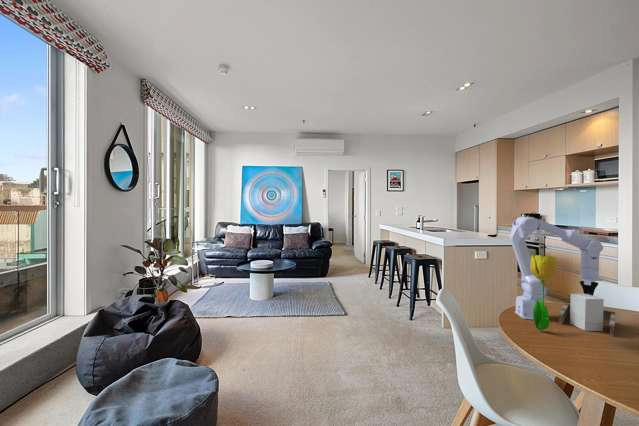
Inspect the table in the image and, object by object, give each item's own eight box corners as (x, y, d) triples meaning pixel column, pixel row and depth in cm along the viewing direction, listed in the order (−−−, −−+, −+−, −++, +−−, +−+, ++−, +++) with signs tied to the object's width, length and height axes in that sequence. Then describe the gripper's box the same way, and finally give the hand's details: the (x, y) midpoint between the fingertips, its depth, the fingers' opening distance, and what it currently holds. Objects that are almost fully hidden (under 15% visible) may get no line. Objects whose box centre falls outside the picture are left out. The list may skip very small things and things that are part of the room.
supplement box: (603, 331, 116) (604, 299, 116) (584, 331, 116) (585, 298, 116) (587, 323, 123) (588, 293, 123) (568, 323, 124) (569, 293, 123)
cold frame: (564, 313, 135) (564, 302, 135) (615, 324, 123) (615, 312, 123) (558, 323, 123) (558, 311, 123) (614, 336, 111) (614, 323, 111)
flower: (559, 337, 110) (562, 256, 109) (535, 335, 112) (537, 255, 111) (547, 327, 119) (549, 253, 118) (524, 326, 120) (526, 252, 120)
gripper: (601, 271, 117) (600, 305, 117) (603, 266, 127) (602, 297, 127) (577, 268, 122) (576, 301, 123) (581, 263, 132) (580, 293, 133)
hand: (588, 299), depth 125 cm, fingers closed
